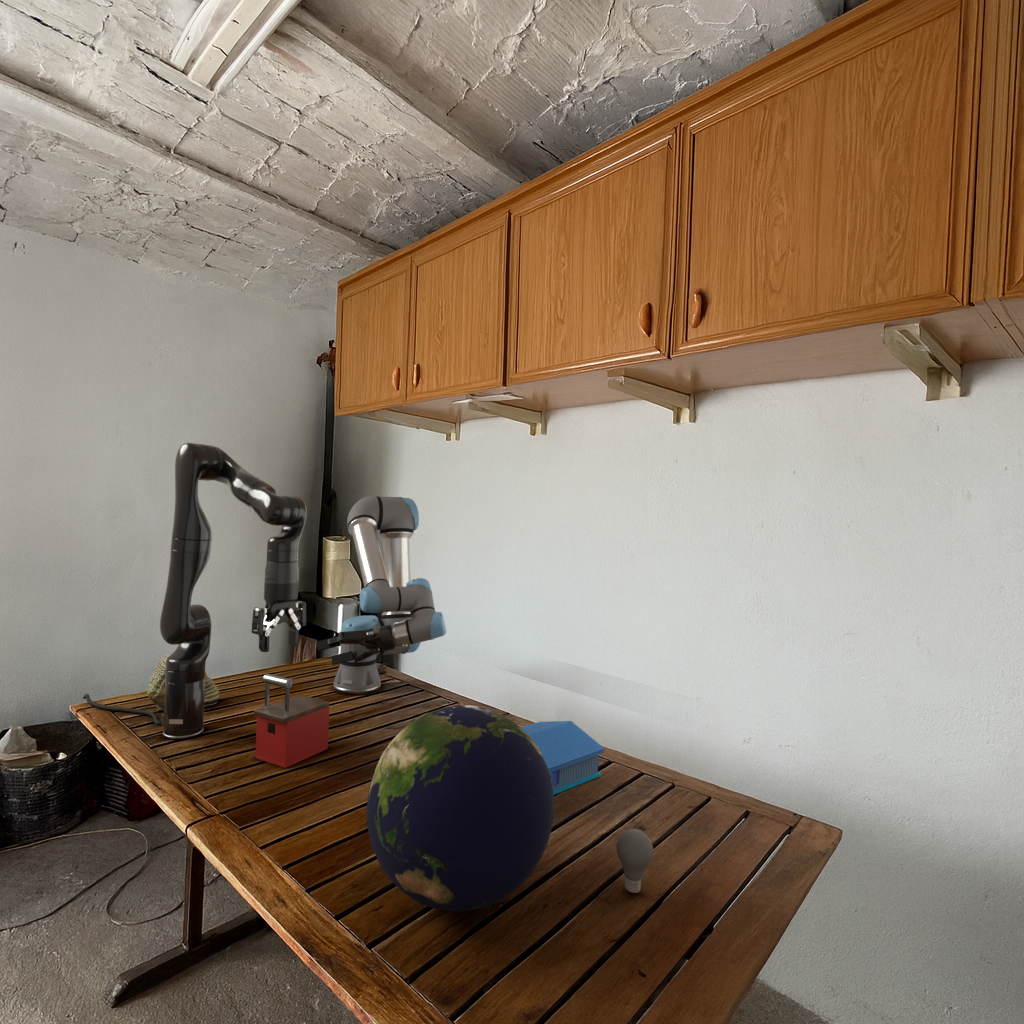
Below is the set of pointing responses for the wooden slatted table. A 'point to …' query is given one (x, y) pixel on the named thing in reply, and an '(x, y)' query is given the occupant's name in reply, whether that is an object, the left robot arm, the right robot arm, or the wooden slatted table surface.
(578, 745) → the model building
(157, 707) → the fossil
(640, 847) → the light bulb
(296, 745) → the chest
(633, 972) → the wooden slatted table surface
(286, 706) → the lid
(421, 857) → the globe
